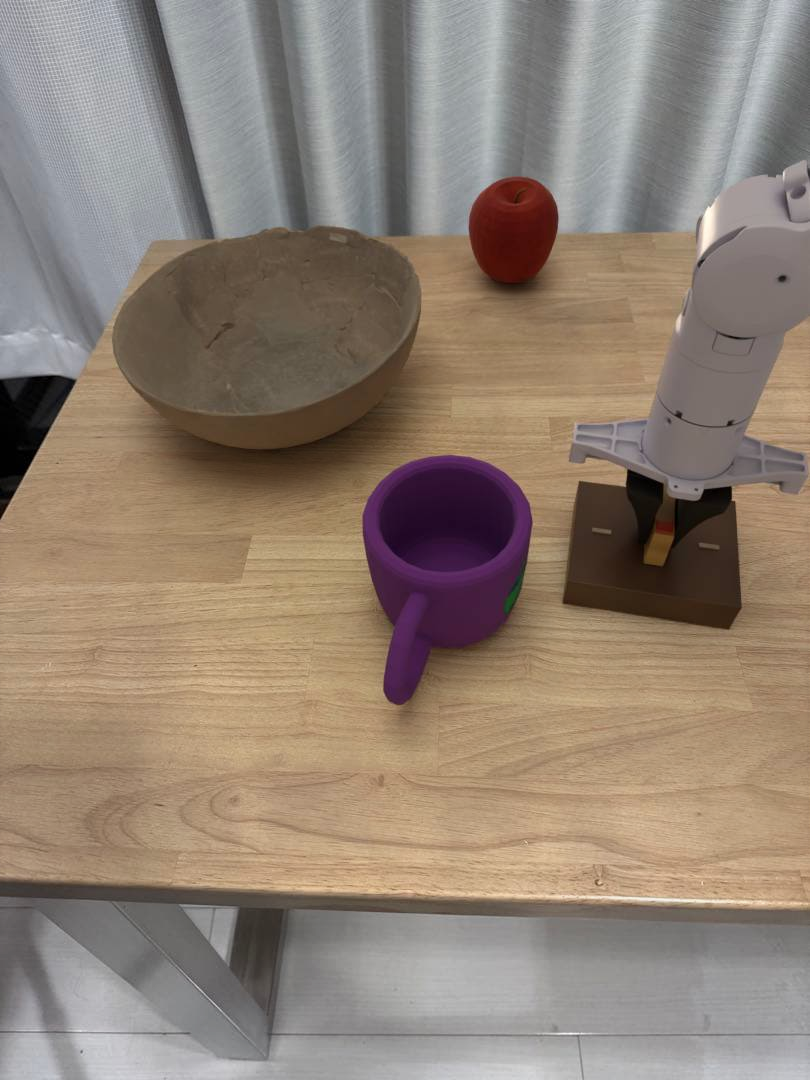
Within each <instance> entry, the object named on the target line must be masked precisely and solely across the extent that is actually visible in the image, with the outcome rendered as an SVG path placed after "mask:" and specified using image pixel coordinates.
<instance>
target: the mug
mask: <svg viewBox="0 0 810 1080" xmlns="http://www.w3.org/2000/svg"><path fill="white" fill-rule="evenodd" d="M532 531H533V515H532V510H531V505H530V501H529V500H528V498H527V497H526V495H525V493H524V491H523V489H522V488H521V486H520V484H518V483H517V482H516V481H514V480H513V478H511V476H509V475H508V474H507V473H506V472H505V471H503V470H502V469H500V468H498V467H496V466H495V465H493V464H491V463H490V462H487V461H483V460H481V459H478V458H475V457H471V456H465V455H457V454H456V455H455V454H442V455H430V456H426V457H422V458H419V459H416V460H415V459H414V460H412V461H409V462H407V463H405V464H403V465H401V466H398V467H397V468H395V469H393V470H392V471H391V472H390V473H388V474H387V475H386V476H385V477H384V478H382V479H381V480H380V481H379V482H378V484H377V485H376V486H375V488H374V489H373V490H372V492H371V493H370V495H369V496H368V498H367V501H366V504H365V506H364V510H363V513H362V539H363V546H364V551H365V558H366V562H367V567H368V570H369V575H370V579H371V582H372V586H373V589H374V591H375V593H376V596H377V599H378V601H379V604H380V606H381V609H382V611H383V613H384V614H385V616H386V617H387V618H388V620H389V621H390V622H391V624H392V625H393V626H394V629H393V632H392V634H391V639H390V642H389V646H388V653H387V656H386V662H385V666H384V674H383V685H382V691H383V694H384V696H385V698H386V700H387V701H388V702H389V703H391V704H393V705H395V706H403V705H405V704H407V702H409V701H410V700H412V698H413V696H414V694H415V692H416V690H417V689H418V686H419V684H420V682H421V678H422V676H423V674H424V671H425V668H426V665H427V662H428V660H429V657H430V653H431V650H432V648H436V649H444V650H445V649H458V648H464V647H469V646H471V645H474V644H477V643H480V642H482V641H483V640H485V639H487V638H488V637H490V636H491V635H493V634H494V633H496V632H497V631H498V630H499V629H500V628H501V627H502V626H503V625H504V624H505V622H507V621H508V619H509V617H510V615H511V613H512V611H513V609H514V607H515V604H516V602H517V600H518V598H519V596H520V593H521V592H522V591H521V590H522V587H523V582H524V579H525V575H526V568H527V564H528V557H529V550H530V544H531V537H532Z"/></svg>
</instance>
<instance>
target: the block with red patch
mask: <svg viewBox="0 0 810 1080" xmlns="http://www.w3.org/2000/svg"><path fill="white" fill-rule="evenodd" d="M666 488H667V487H666V485H665V484H664V491H663V503H662V505H661V506H660V508H659V509H658V511H657V513H656V515H655V518H654V520H653V523H652V527H651V531H650V536H649V538H648V540H647V542H646V544H645V547H644V563H645V564H651V565H657V566H663V565H664V562H665V560H666V557H667V555H668V552H669V550H670V547H671V544H672V542H673V539H674V531H675V506H676V498H673V497H670V496H669V495H668V494H667V491H666Z"/></svg>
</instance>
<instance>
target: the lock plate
mask: <svg viewBox="0 0 810 1080" xmlns="http://www.w3.org/2000/svg"><path fill="white" fill-rule="evenodd" d="M676 499H677V498H676ZM737 521H738V520H737V503H736V500H732V501H731V503H730V505H729V507H728V508H727V510H726V511H725V512H724V513H723V514H720V515H717V516H714V517H712V518H709V519H707V520H706V521H704V522H702V523H701V524H699V525H698V526H696V527H695V528H694V529H692V530H691V531H690V532H689V533H688V534H687V535H686V536H685V537H684V538H683V539H682V540H681V541H680V542H679V543H678V544H677V545H676V547H675V548H670V550H669V552H668V555H667V557H666V560H665V562H664V565H663V566H657V565H651V564H645V563H644V547H645V544H643V543H638V542H637V528H638V524H637V518H636V514H635V511H634V509H633V507H632V504H631V503H630V501H629V500H628V497H627V493H626V486H625V485H624V486H623V485H615V484H607V483H599V482H593V481H585V480H578V482H577V487H576V492H575V498H574V503H573V509H572V519H571V527H570V536H569V545H568V551H567V552H568V553H567V561H566V570H565V578H564V587H563V596H562V604H566V605H573V606H579V607H585V608H592V609H597V610H604V611H610V612H617V613H622V614H630V615H635V616H642V617H647V618H653V619H660V620H667V621H672V622H673V621H674V622H679V623H684V624H692V625H697V626H704V627H711V628H716V629H722V630H730V629H731V627H732V625H733V624H734V622H735V620H736V618H737V617H738V615H739V613H740V612H741V610H742V608H743V607H742V589H741V586H742V585H741V572H740V571H741V570H740V555H739V538H738V537H739V536H738V522H737Z"/></svg>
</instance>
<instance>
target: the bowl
mask: <svg viewBox="0 0 810 1080" xmlns="http://www.w3.org/2000/svg"><path fill="white" fill-rule="evenodd" d="M421 313H422V290H421V283H420V278H419V275H418V274H417V272H416V269H415V267H414V265H413V263H412V262H411V260H409V258H408V256H407V255H405V254H404V253H403V252H401V251H400V249H398V248H396V247H395V246H394V245H393V244H391V243H388V242H384V241H383V242H382V241H379V239H377V238H375V237H373V236H367V235H366V234H365V233H363V232H362V231H359V230H357V229H351V228H347V227H344V226H343V227H341V226H333V225H324V224H316V225H313V226H310V227H308V228H307V229H306V230H292V231H290V230H289V229H288V228H287V227H283V226H280V225H279V226H275V227H272V228H270V229H269V228H264V229H261V230H260V231H258V232H257V233H252V234H250V235H246V236H241V237H234V238H230V239H229V238H225V239H222V240H215V241H212V242H209V243H206V244H202V245H199V246H197V247H194V248H191V249H190V250H188V251H185V252H184V253H181V254H180V255H178V256H176V257H174V258H172V259H171V260H169V261H167V262H166V263H164V264H163V265H162V266H161V267H159V268H158V269H157V270H155V271H154V272H153V273H152V274H150V275H149V277H147V278H146V279H145V280H144V281H143V282H142V283H141V284H140V285H139V286H138V288H137V289H135V291H133V293H132V294H131V295H129V297H127V298H126V300H125V301H124V303H123V304H122V306H121V308H120V310H119V312H118V314H117V316H116V318H115V321H114V324H113V328H112V336H111V344H112V352H113V357H114V358H115V361H116V364H117V367H118V368H119V371H120V372H121V374H122V376H123V377H124V378H125V380H126V381H127V382H128V384H129V385H130V387H131V388H132V389H133V390H134V391H135V392H136V393H137V394H138V395H139V396H140V397H141V398H142V399H143V400H144V401H145V402H146V403H147V404H148V405H150V406H151V407H152V408H153V409H154V410H155V411H156V412H157V413H158V414H160V415H161V416H162V417H163V418H165V419H166V420H168V421H169V422H171V423H172V424H173V425H175V426H176V427H178V428H179V429H181V430H184V431H186V432H187V433H190V434H192V435H194V436H196V437H197V438H200V439H203V440H205V441H208V442H212V443H215V444H219V445H223V446H226V447H231V448H240V449H246V450H273V449H287V448H291V447H297V446H301V445H306V444H310V443H312V442H315V441H318V440H321V439H323V438H326V437H328V436H331V435H333V434H335V433H337V432H339V431H341V430H342V429H344V428H346V427H348V426H350V425H352V424H354V423H356V422H357V421H358V420H359V419H361V418H363V417H364V416H366V414H368V413H369V412H370V411H371V410H372V409H373V408H374V407H375V406H377V405H378V403H379V402H381V400H382V399H383V398H384V397H385V395H386V394H387V393H388V392H389V391H390V389H391V388H392V386H394V384H395V383H396V381H397V379H398V378H399V376H400V375H401V373H402V371H403V369H404V367H405V365H406V363H407V361H408V360H409V359H408V358H409V356H410V354H411V351H412V350H413V349H412V348H413V346H414V342H415V340H416V335H417V332H418V329H419V324H420V320H421V319H420V318H421Z"/></svg>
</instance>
